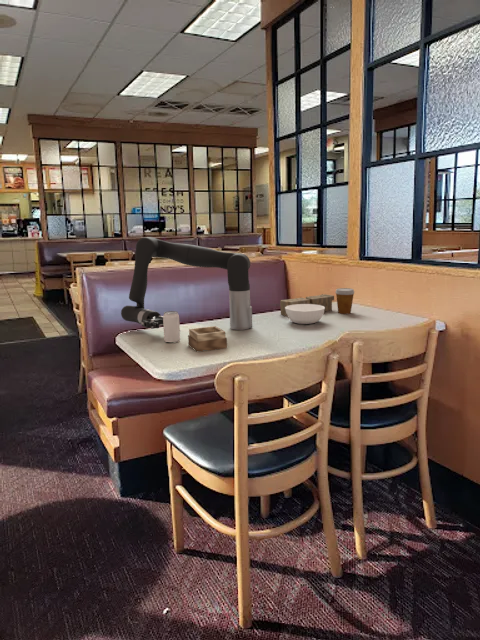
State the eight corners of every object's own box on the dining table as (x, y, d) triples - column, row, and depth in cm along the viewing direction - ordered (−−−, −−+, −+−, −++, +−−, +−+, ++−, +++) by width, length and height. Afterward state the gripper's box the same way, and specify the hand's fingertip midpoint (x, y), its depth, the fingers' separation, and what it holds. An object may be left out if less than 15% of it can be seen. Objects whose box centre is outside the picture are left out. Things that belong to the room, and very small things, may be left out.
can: (162, 340, 201) (161, 311, 198) (178, 338, 203) (176, 310, 200) (166, 343, 195) (164, 314, 192) (182, 342, 197) (180, 313, 195)
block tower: (289, 319, 241) (334, 310, 255) (288, 302, 240) (334, 294, 253) (280, 316, 248) (325, 308, 262) (279, 300, 246) (324, 292, 260)
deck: (217, 341, 196) (216, 331, 195) (227, 347, 186) (226, 337, 185) (188, 345, 192) (188, 335, 191) (197, 351, 182) (196, 341, 181)
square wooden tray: (215, 332, 195) (215, 326, 195) (225, 338, 185) (225, 331, 185) (189, 335, 191) (189, 329, 191) (197, 341, 181) (197, 334, 181)
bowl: (323, 318, 236) (323, 303, 234) (326, 326, 218) (326, 310, 216) (285, 318, 238) (285, 304, 236) (285, 326, 220) (284, 311, 218)
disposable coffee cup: (356, 311, 249) (357, 288, 247) (350, 315, 241) (350, 291, 239) (338, 310, 254) (339, 287, 252) (332, 313, 246) (332, 290, 244)
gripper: (133, 312, 208) (151, 317, 195) (163, 308, 216) (182, 312, 203) (135, 329, 209) (152, 336, 197) (164, 324, 218) (183, 330, 205)
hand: (167, 324), depth 200 cm, fingers open, 8 cm apart
